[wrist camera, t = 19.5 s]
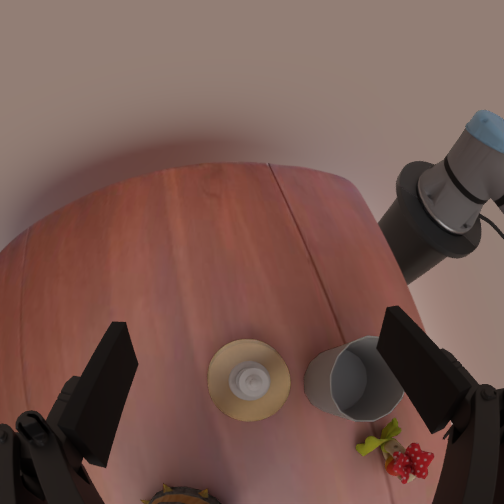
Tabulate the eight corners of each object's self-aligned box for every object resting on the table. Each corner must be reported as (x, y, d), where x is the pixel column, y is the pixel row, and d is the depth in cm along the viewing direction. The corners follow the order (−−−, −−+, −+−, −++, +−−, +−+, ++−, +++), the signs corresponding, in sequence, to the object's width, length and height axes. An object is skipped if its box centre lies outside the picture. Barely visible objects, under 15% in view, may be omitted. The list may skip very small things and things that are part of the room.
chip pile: (302, 370, 31) (308, 369, 28) (256, 431, 27) (258, 436, 25) (239, 326, 33) (239, 321, 30) (192, 385, 30) (187, 386, 27)
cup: (318, 339, 33) (348, 323, 24) (373, 359, 32) (416, 349, 23) (293, 401, 29) (315, 410, 20) (351, 419, 28) (390, 429, 19)
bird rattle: (398, 441, 28) (386, 404, 27) (450, 472, 17) (449, 436, 17) (364, 469, 26) (347, 435, 26) (412, 508, 16) (405, 480, 15)
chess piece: (229, 360, 28) (225, 352, 19) (269, 361, 29) (284, 354, 20) (228, 399, 26) (223, 409, 17) (269, 400, 27) (283, 410, 18)
